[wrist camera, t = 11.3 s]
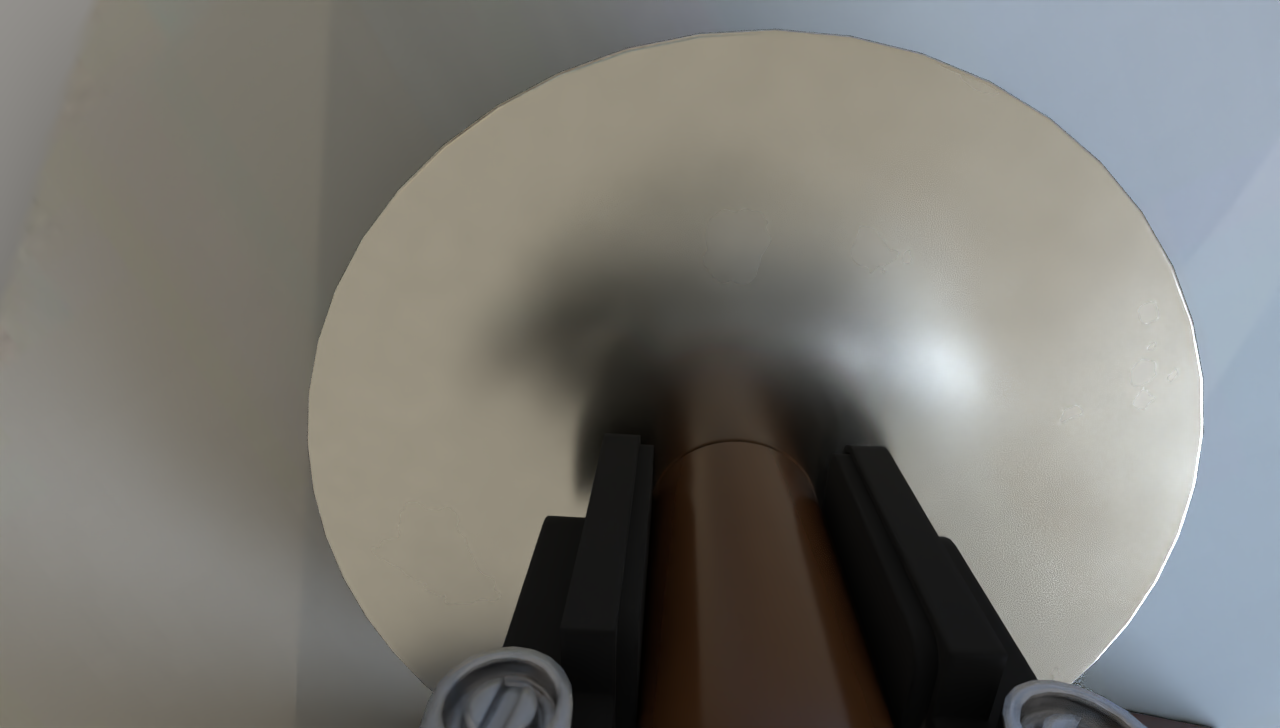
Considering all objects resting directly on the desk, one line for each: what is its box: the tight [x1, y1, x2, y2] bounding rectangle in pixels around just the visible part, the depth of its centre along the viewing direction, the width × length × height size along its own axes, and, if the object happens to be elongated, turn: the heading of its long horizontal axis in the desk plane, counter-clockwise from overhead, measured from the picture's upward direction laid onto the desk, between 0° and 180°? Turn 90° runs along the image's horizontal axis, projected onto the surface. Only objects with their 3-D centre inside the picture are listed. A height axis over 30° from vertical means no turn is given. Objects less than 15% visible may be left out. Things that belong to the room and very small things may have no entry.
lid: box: [307, 29, 1204, 728], centre depth 9 cm, size 14×14×6 cm
